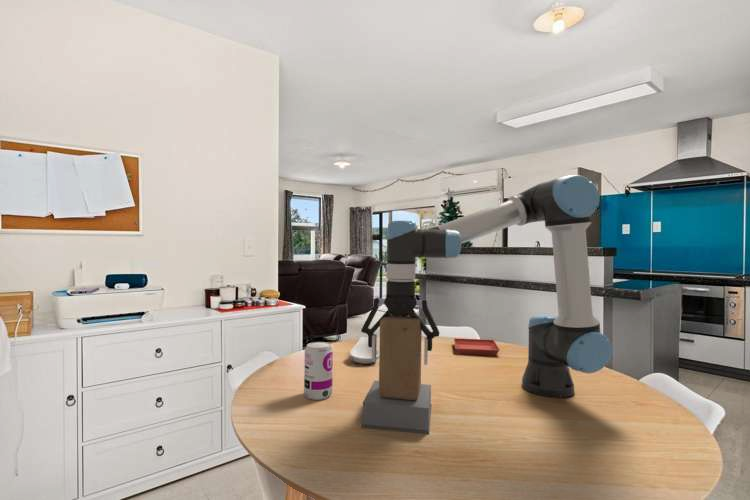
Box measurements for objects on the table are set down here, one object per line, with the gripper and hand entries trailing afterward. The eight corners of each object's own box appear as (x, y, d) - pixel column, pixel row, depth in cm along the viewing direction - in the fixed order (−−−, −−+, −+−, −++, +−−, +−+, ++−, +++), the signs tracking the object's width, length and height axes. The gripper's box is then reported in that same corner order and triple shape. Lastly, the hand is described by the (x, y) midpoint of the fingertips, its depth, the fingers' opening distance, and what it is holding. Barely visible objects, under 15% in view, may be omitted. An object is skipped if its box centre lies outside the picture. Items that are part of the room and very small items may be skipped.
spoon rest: (381, 367, 143) (381, 347, 143) (349, 367, 142) (349, 347, 142) (376, 350, 167) (376, 333, 167) (349, 350, 166) (349, 333, 166)
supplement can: (337, 393, 116) (337, 343, 116) (322, 402, 109) (323, 349, 109) (314, 388, 120) (315, 340, 120) (298, 397, 112) (299, 346, 112)
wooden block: (417, 402, 95) (419, 321, 95) (378, 398, 97) (379, 319, 97) (421, 388, 105) (422, 314, 105) (384, 384, 107) (385, 312, 107)
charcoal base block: (431, 406, 108) (431, 384, 108) (429, 433, 91) (429, 408, 91) (373, 401, 110) (373, 380, 110) (361, 427, 94) (361, 402, 94)
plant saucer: (455, 355, 161) (455, 347, 161) (453, 344, 179) (453, 337, 179) (500, 358, 158) (500, 350, 158) (493, 347, 176) (493, 339, 176)
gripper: (449, 280, 102) (448, 360, 102) (357, 277, 107) (356, 354, 107) (449, 282, 95) (448, 369, 95) (350, 279, 99) (349, 362, 99)
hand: (399, 361), depth 101 cm, fingers open, 13 cm apart
